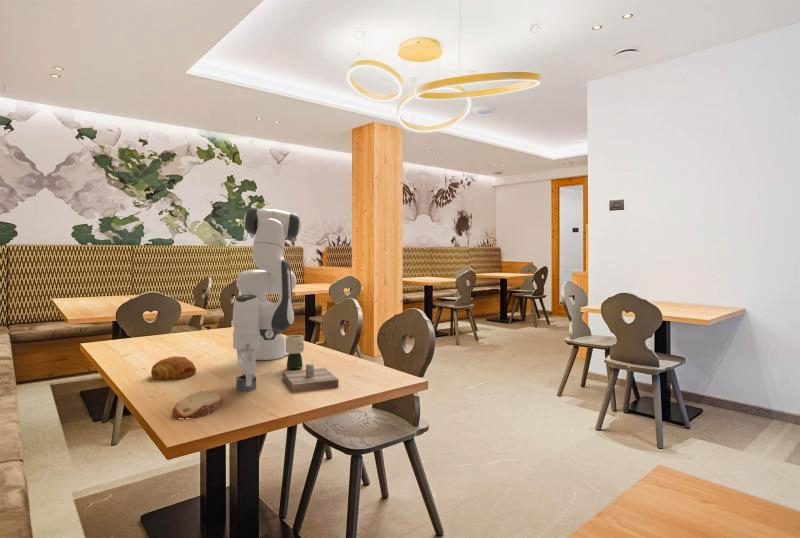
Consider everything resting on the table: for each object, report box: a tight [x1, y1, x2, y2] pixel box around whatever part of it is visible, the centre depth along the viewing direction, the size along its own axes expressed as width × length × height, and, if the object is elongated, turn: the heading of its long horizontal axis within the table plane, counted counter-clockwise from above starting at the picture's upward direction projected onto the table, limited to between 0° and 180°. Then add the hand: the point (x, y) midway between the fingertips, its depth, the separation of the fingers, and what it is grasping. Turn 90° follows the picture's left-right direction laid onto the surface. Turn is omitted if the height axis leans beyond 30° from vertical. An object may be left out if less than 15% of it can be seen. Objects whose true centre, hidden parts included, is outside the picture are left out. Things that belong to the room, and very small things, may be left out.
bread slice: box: [171, 390, 223, 419], centre depth 144 cm, size 18×18×4 cm
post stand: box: [282, 363, 339, 393], centre depth 171 cm, size 18×16×6 cm
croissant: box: [150, 355, 197, 381], centre depth 180 cm, size 14×16×8 cm
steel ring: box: [235, 374, 257, 393], centre depth 163 cm, size 6×6×4 cm
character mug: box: [285, 334, 305, 370], centre depth 191 cm, size 11×7×13 cm, turn 52°
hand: (246, 382), depth 163 cm, fingers open, 8 cm apart
